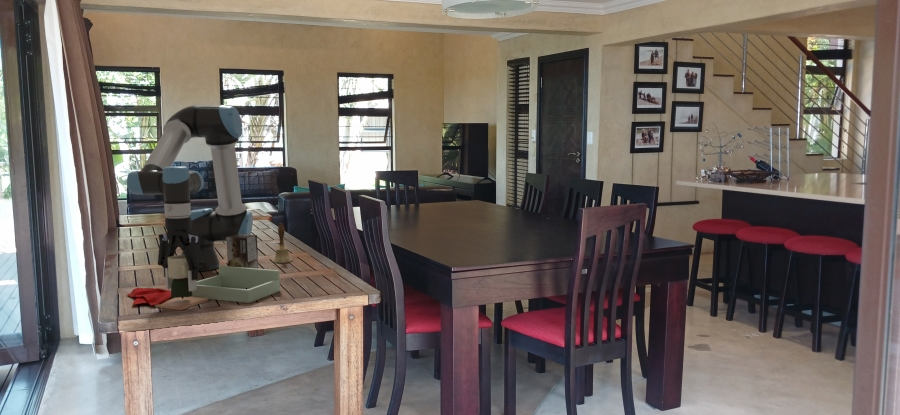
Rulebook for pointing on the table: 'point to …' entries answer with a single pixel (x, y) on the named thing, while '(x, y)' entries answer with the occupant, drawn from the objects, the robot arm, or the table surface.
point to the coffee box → (242, 251)
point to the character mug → (179, 276)
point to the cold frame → (239, 284)
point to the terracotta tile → (181, 302)
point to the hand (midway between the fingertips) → (181, 289)
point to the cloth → (150, 295)
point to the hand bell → (281, 248)
